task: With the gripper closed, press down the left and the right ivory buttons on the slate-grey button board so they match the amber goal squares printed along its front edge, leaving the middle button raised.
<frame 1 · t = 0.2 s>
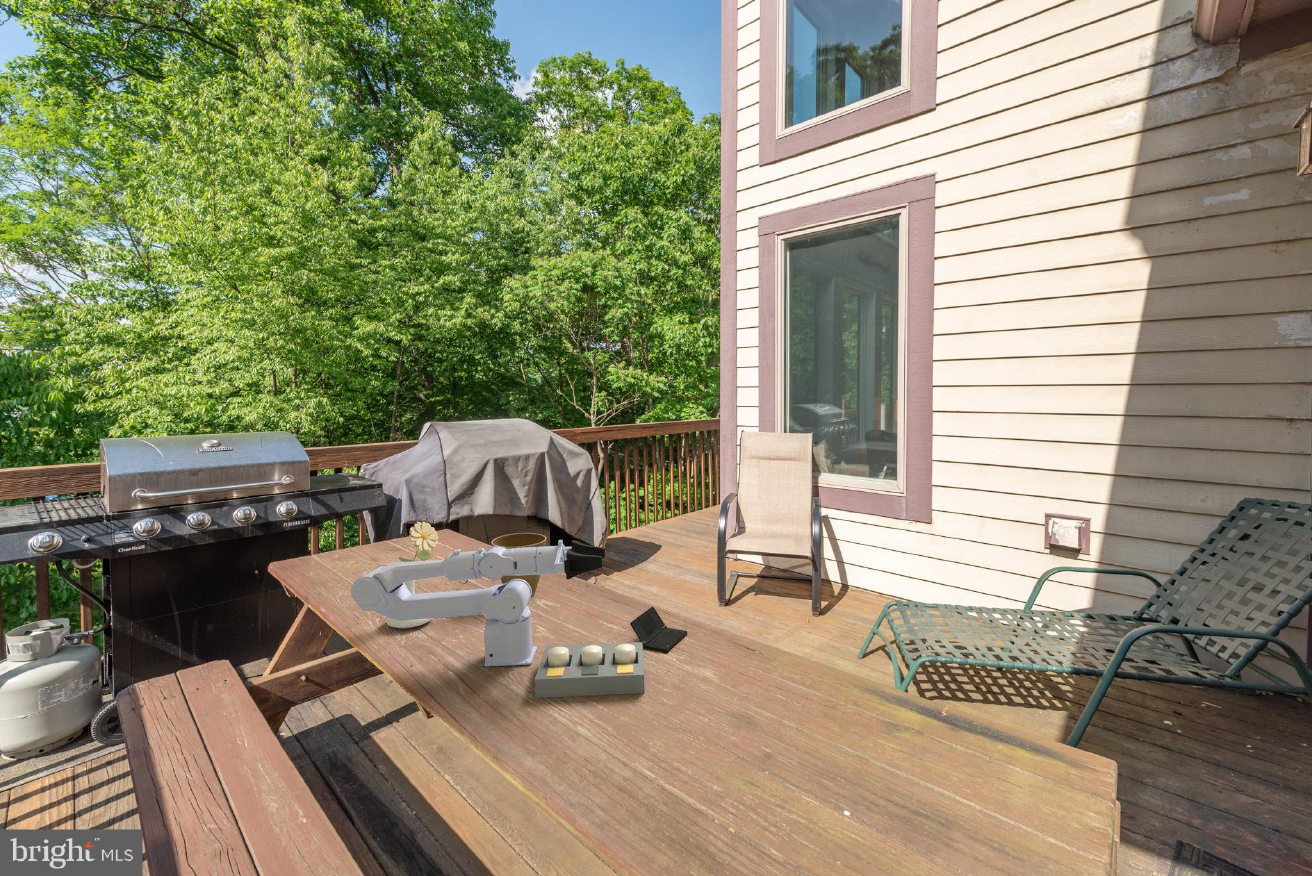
hand: (603, 557, 119), 21 cm above the table, tool horizontal, fingers open, 7 cm apart
button left: (558, 658, 111), point 4 cm above the table, slide at 0.0 cm
plant pot: (521, 596, 159), on the table
button middle: (591, 657, 111), point 4 cm above the table, slide at 0.0 cm
button board: (592, 677, 111), on the table
button right: (625, 655, 111), point 4 cm above the table, slide at 0.0 cm
handheld gaming console: (659, 641, 128), on the table
flower in vase: (414, 623, 141), on the table
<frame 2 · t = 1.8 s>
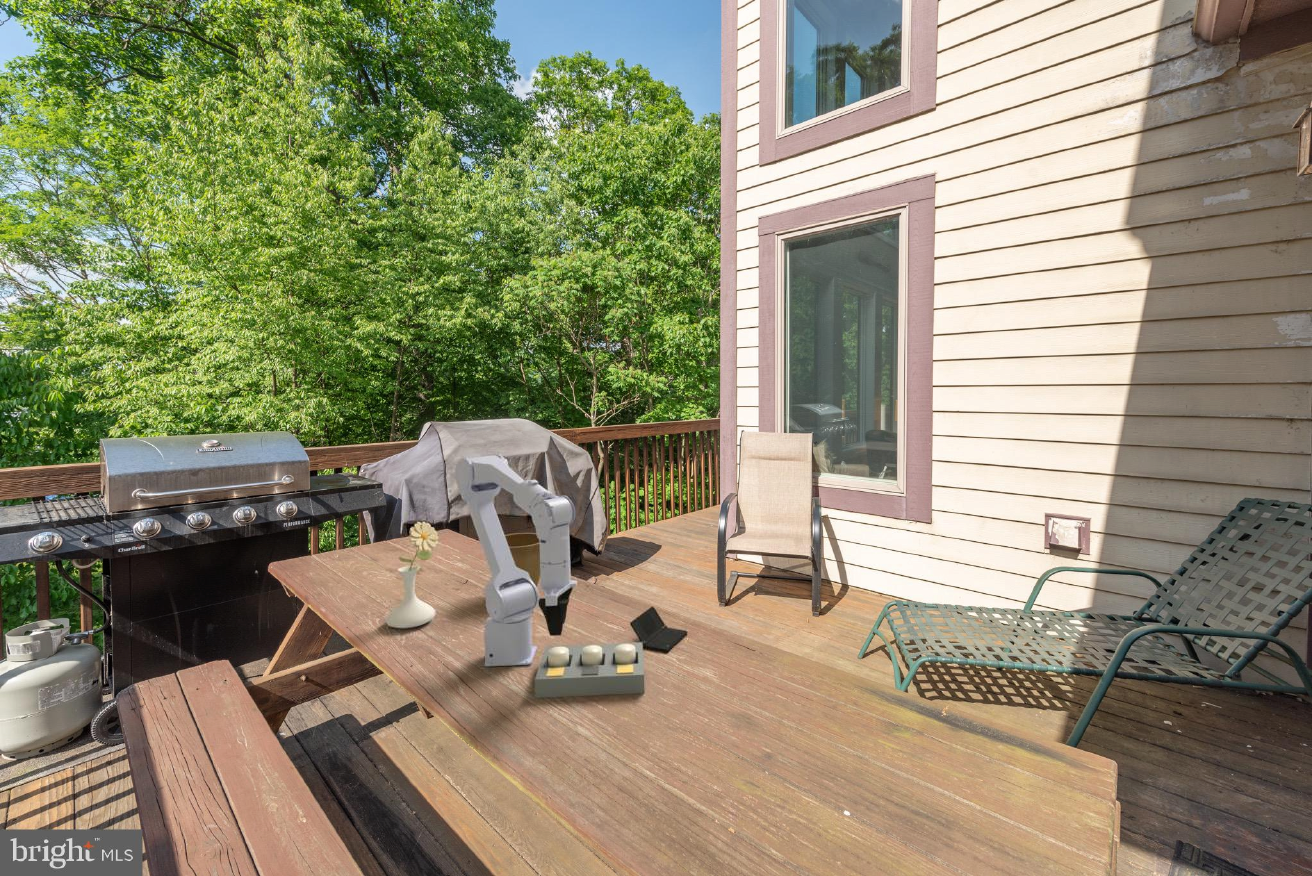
hand: (557, 629, 110), 10 cm above the table, tool pointing down, fingers open, 5 cm apart
nothing on the table moved.
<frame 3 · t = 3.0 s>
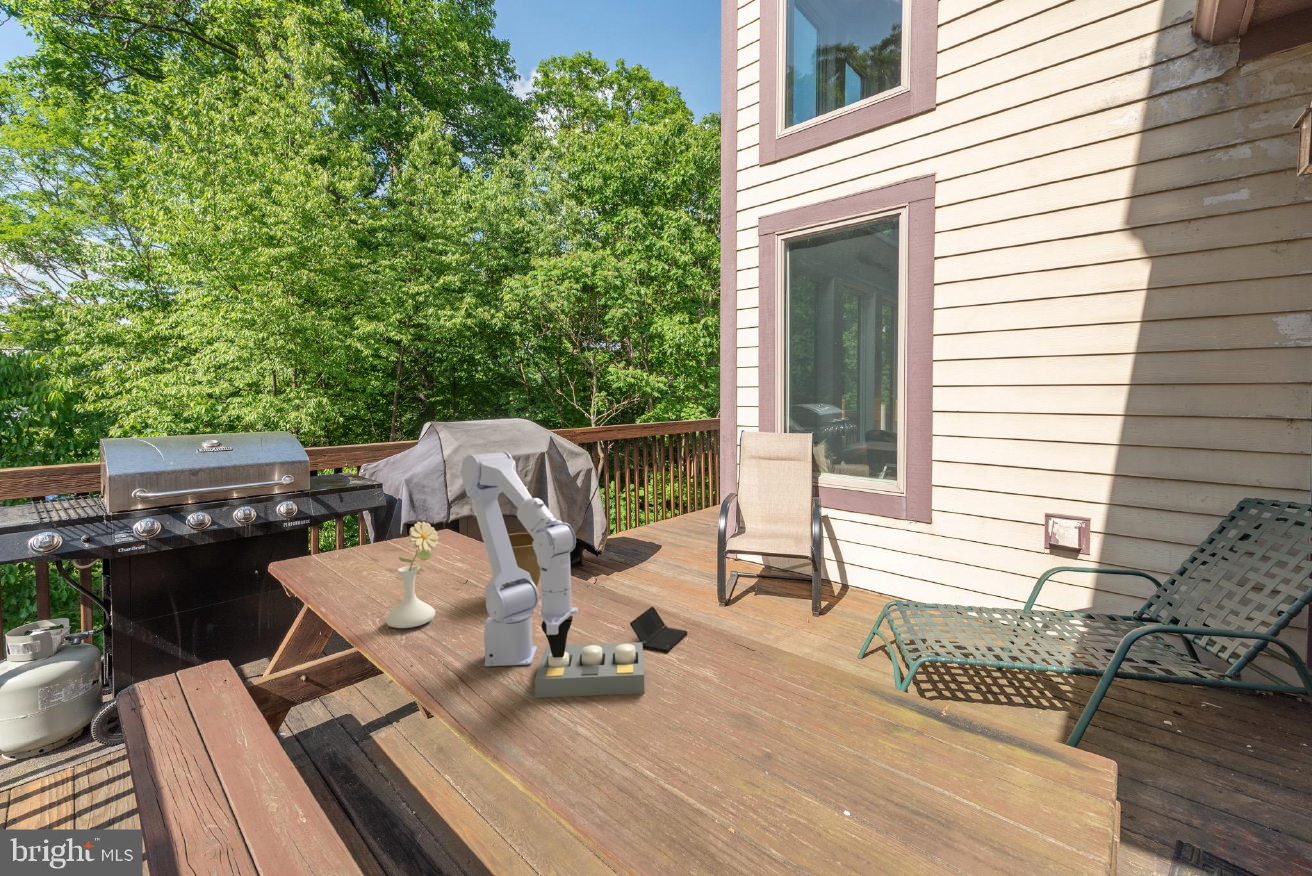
hand: (558, 656, 111), 5 cm above the table, tool pointing down, fingers closed, pressing on button left
button left: (558, 663, 111), point 3 cm above the table, slide at 1.0 cm, touching gripper
everything else where it was.
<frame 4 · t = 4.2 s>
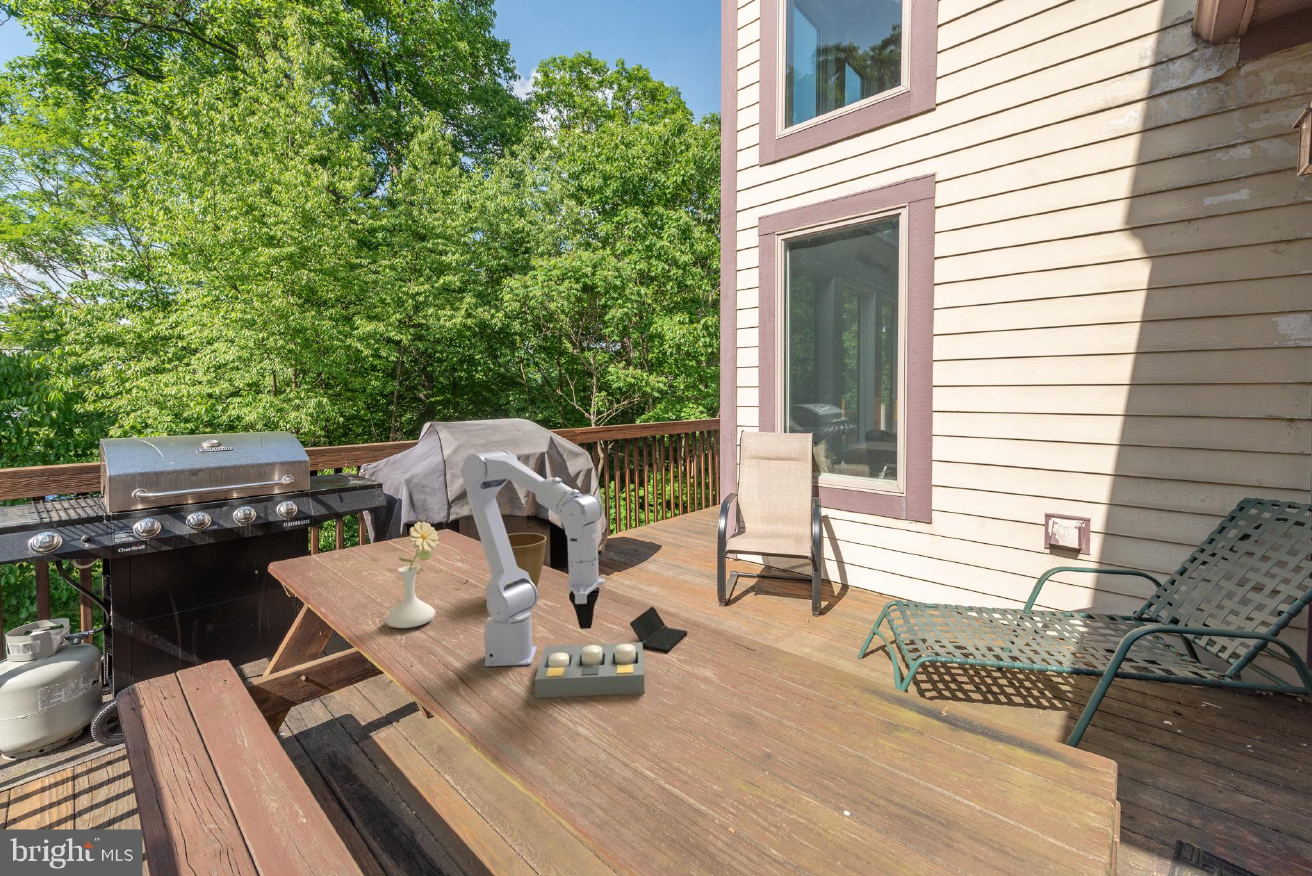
hand: (585, 627, 110), 10 cm above the table, tool pointing down, fingers closed
button left: (558, 664, 111), point 3 cm above the table, slide at 1.2 cm
everything else where it was.
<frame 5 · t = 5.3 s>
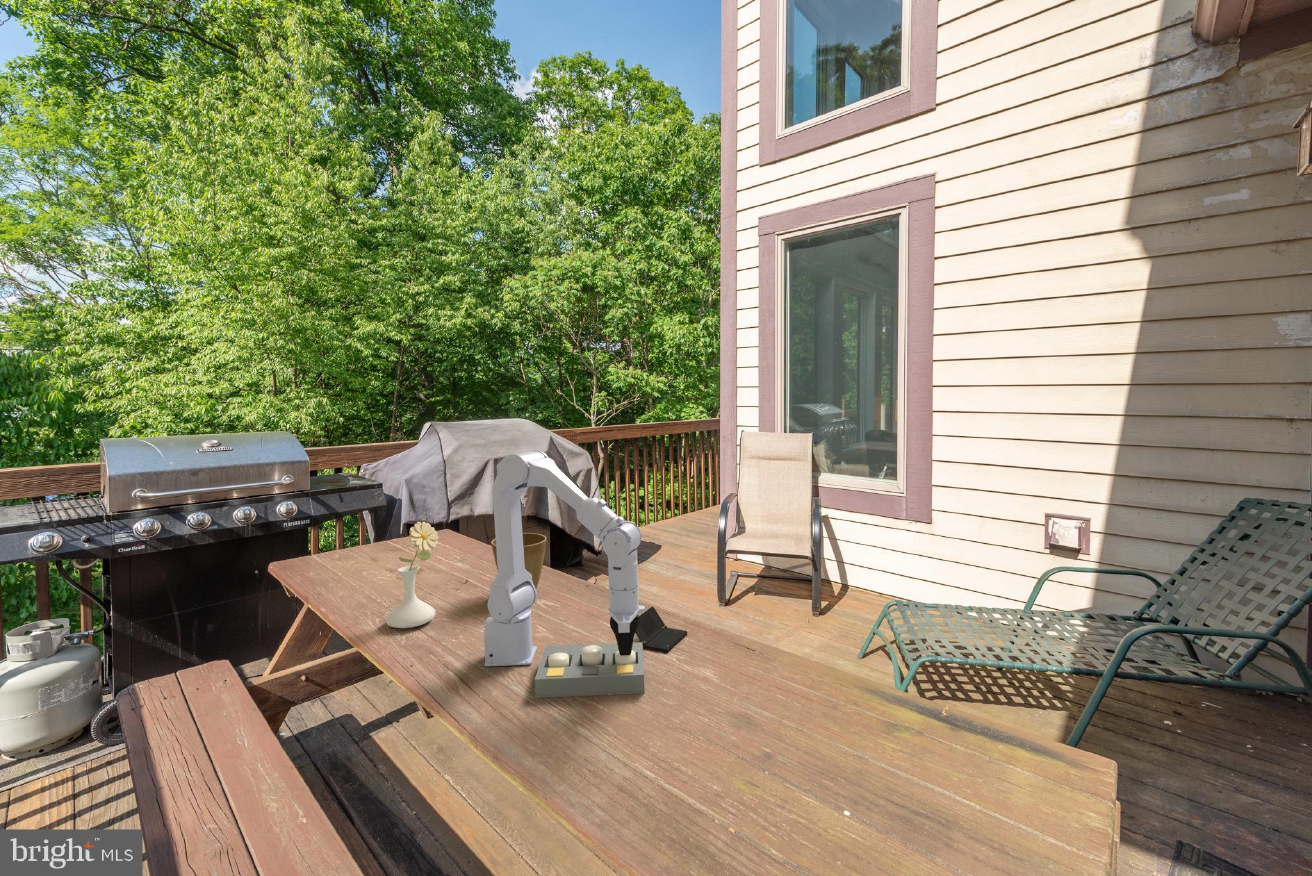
hand: (625, 653, 111), 4 cm above the table, tool pointing down, fingers closed, pressing on button right
button right: (625, 661, 111), point 3 cm above the table, slide at 1.1 cm, touching gripper
everything else where it was.
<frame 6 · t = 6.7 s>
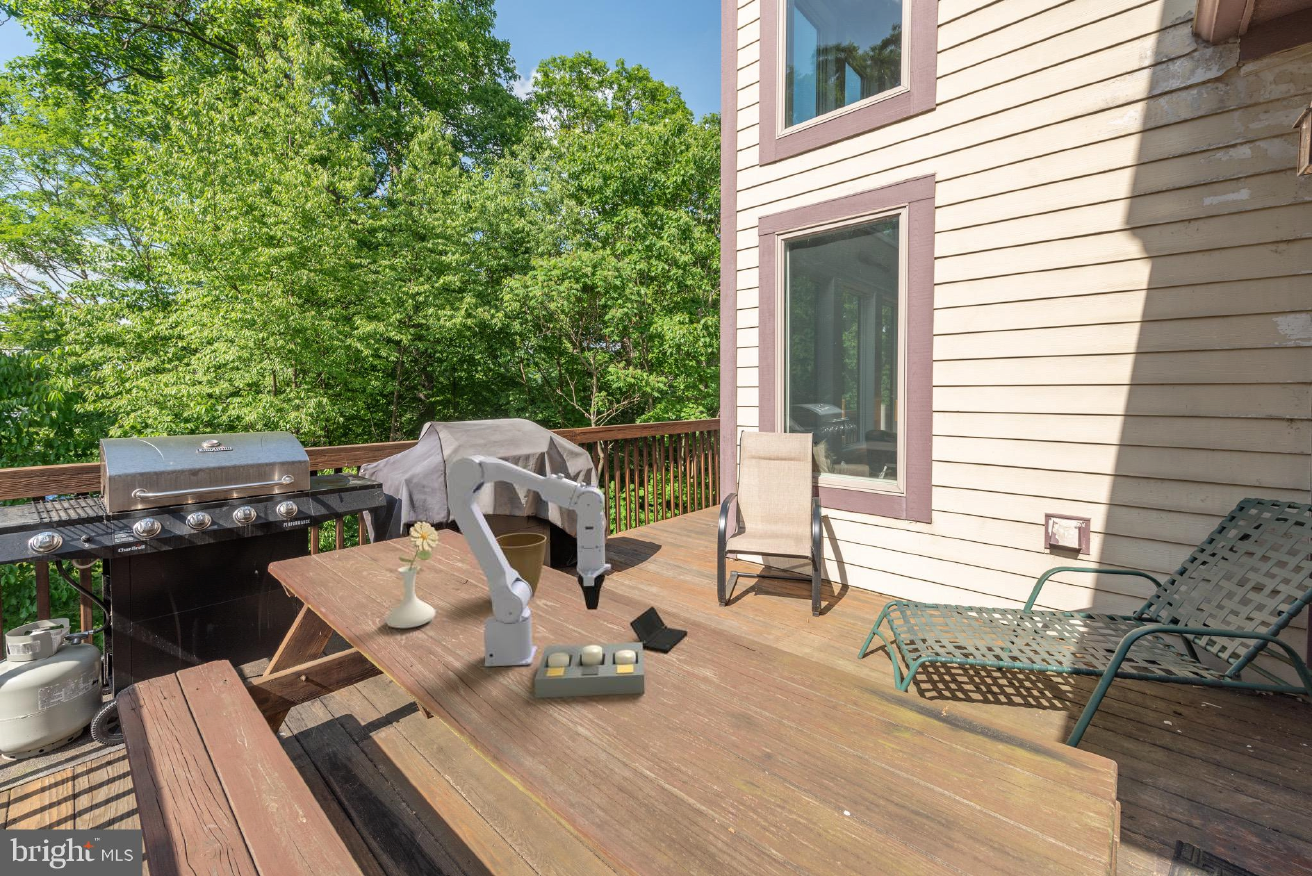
hand: (592, 608, 120), 10 cm above the table, tool pointing down, fingers closed
button right: (625, 661, 111), point 3 cm above the table, slide at 1.2 cm
everything else where it was.
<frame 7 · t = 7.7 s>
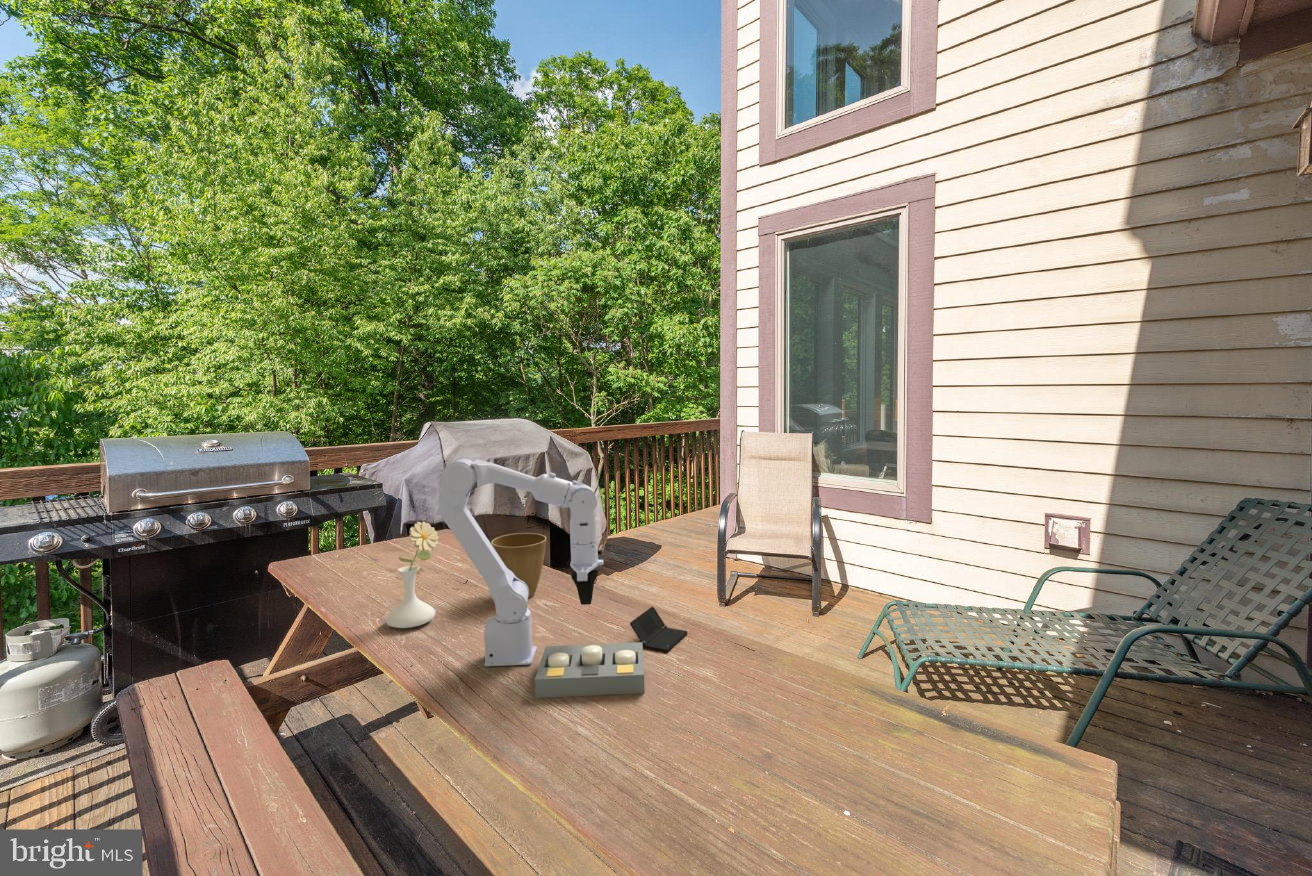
hand: (586, 603, 123), 10 cm above the table, tool pointing down, fingers closed
nothing on the table moved.
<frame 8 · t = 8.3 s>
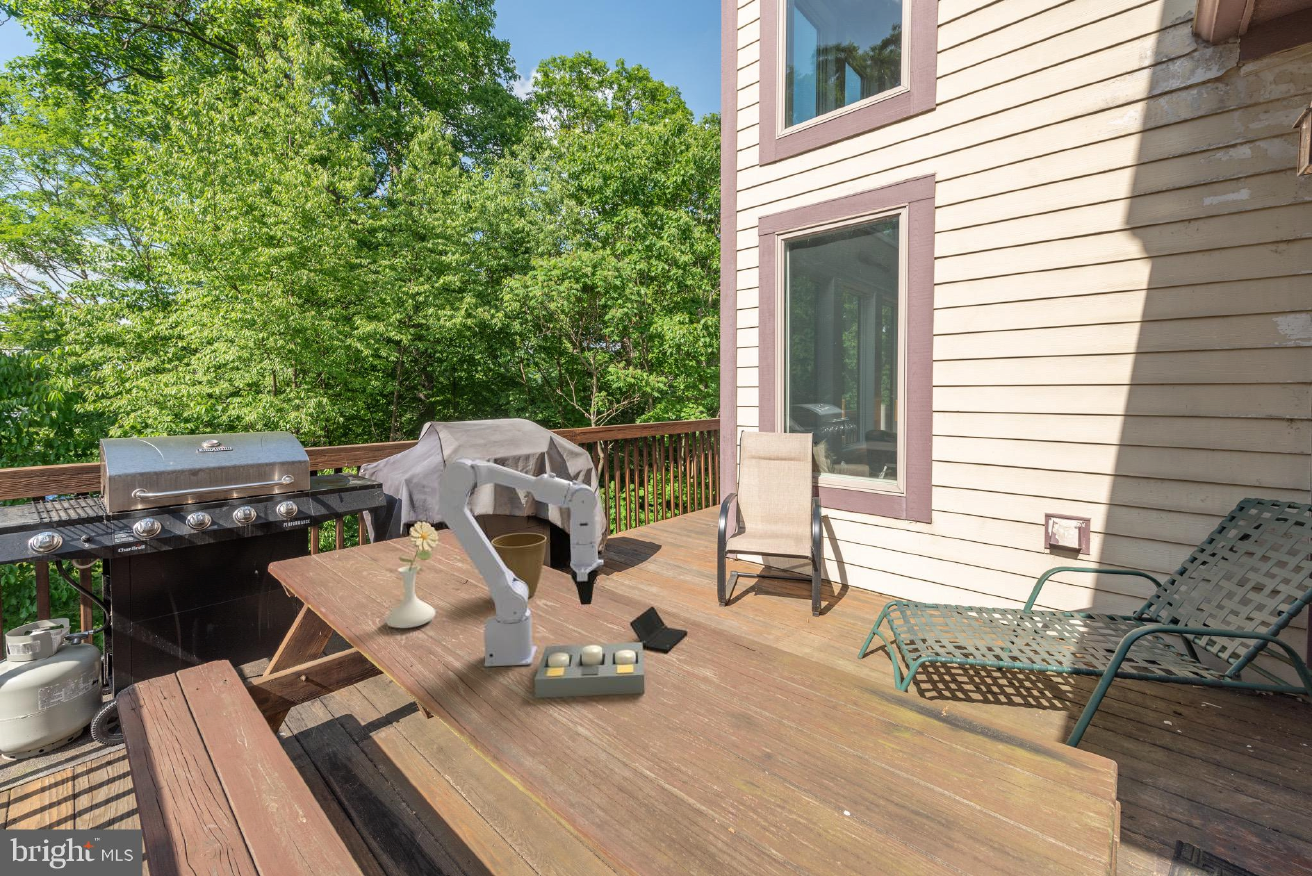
hand: (586, 603, 123), 10 cm above the table, tool pointing down, fingers closed
nothing on the table moved.
at the end: button left slide at 1.2 cm; button right slide at 1.2 cm; button middle slide at 0.0 cm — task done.
